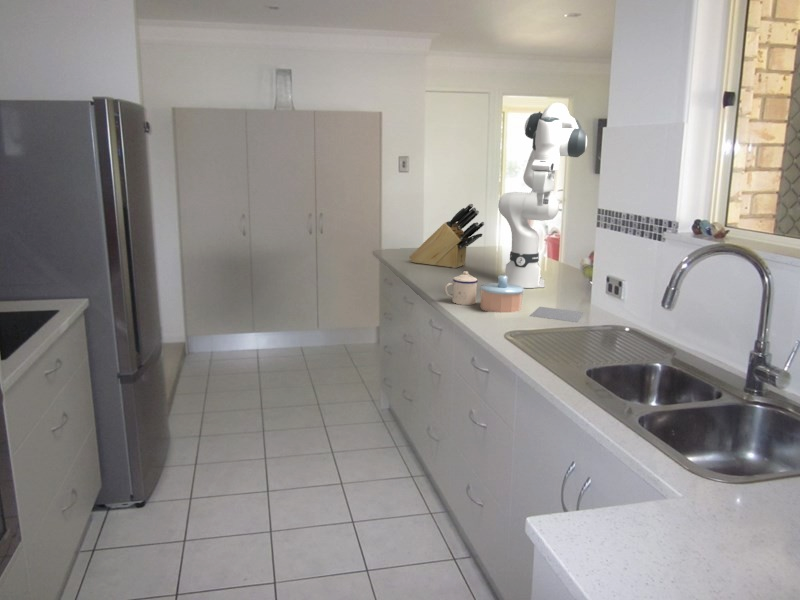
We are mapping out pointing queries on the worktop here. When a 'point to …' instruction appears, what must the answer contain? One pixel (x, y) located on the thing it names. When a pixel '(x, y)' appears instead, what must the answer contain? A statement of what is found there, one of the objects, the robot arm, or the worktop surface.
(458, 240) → the knife block
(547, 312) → the mat
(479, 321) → the worktop surface
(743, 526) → the worktop surface
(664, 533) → the worktop surface
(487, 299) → the bowl
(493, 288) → the lid
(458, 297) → the teacup with lid
